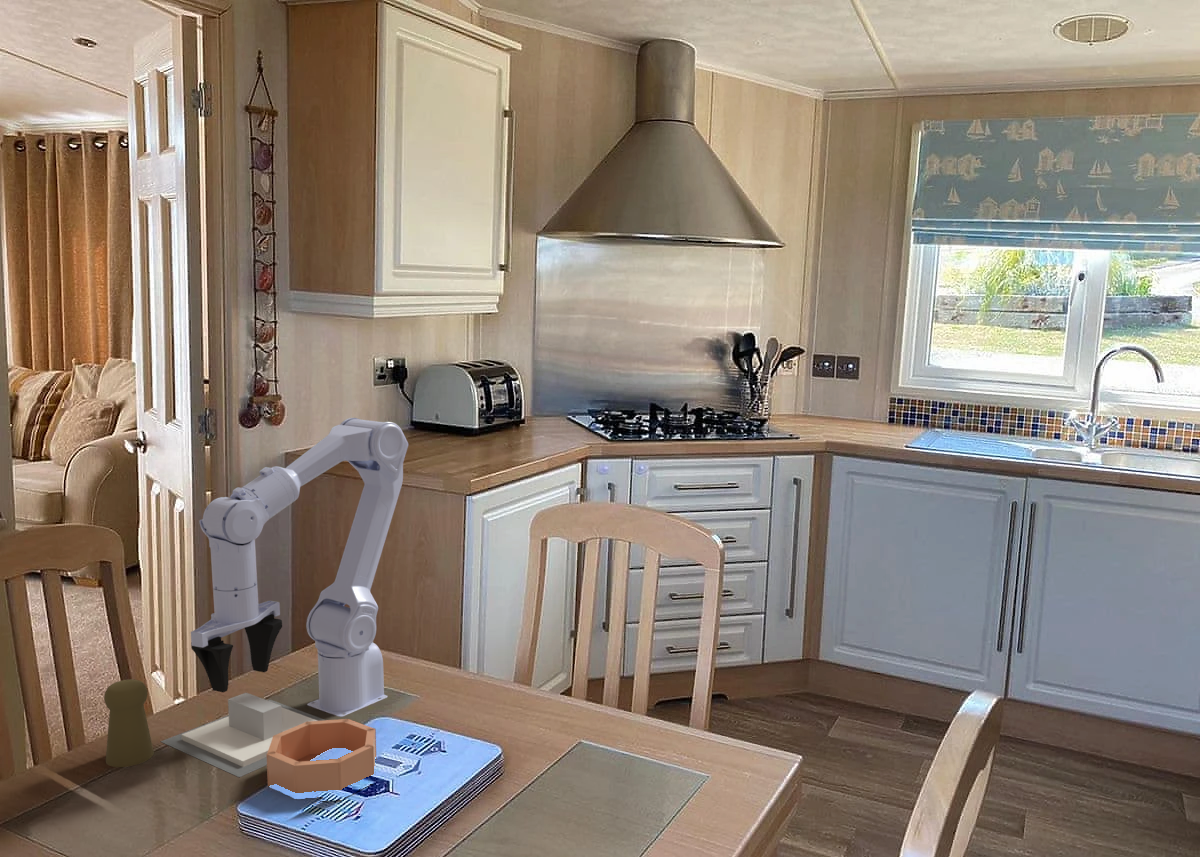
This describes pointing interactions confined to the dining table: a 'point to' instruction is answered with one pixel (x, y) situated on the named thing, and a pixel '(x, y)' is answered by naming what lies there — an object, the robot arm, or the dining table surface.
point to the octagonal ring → (312, 739)
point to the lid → (245, 729)
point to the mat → (219, 761)
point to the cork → (127, 724)
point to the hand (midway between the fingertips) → (240, 680)
